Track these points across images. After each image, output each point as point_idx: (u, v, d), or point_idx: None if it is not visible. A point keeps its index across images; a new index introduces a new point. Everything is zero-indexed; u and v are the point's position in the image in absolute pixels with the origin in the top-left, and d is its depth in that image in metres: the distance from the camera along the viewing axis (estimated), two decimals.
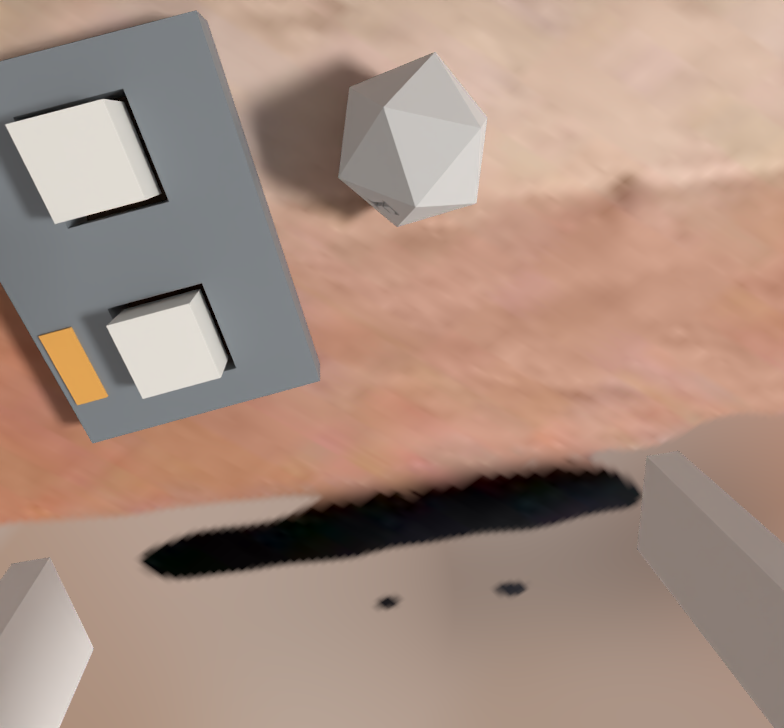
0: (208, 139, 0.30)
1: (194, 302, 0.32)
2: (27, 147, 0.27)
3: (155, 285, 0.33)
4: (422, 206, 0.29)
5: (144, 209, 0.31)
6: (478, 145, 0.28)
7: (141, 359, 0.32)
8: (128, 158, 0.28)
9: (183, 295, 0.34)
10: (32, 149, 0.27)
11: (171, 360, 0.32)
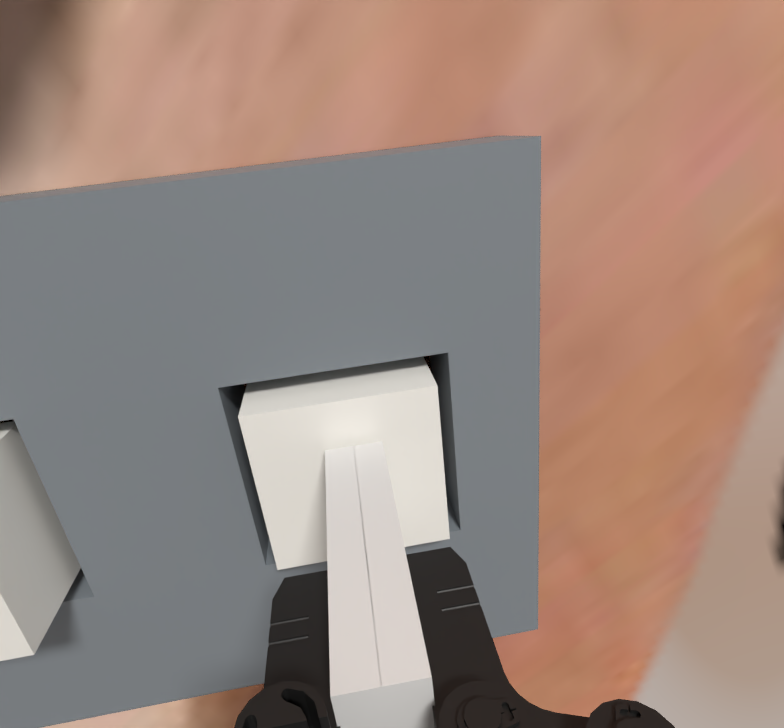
0: None
1: (252, 397, 0.14)
2: None
3: (219, 479, 0.15)
4: None
5: (38, 468, 0.14)
6: None
7: None
8: None
9: None
10: None
11: None
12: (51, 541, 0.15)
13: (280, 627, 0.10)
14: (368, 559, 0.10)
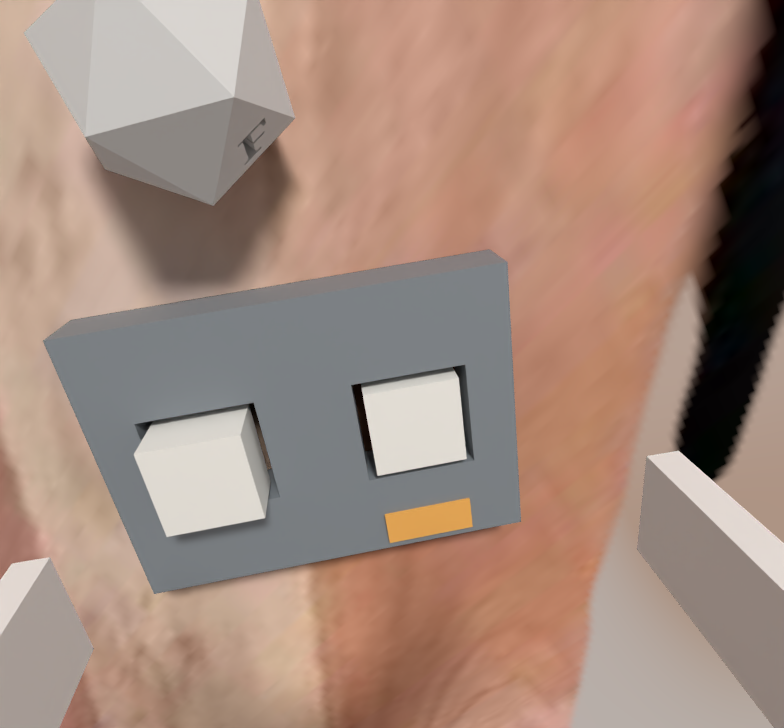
0: (182, 351, 0.26)
1: (366, 386, 0.28)
2: (187, 524, 0.27)
3: (348, 432, 0.28)
4: (235, 83, 0.18)
5: (261, 427, 0.28)
6: None
7: (420, 451, 0.29)
8: (194, 443, 0.25)
9: None
10: (189, 521, 0.27)
11: (427, 424, 0.28)
12: (262, 466, 0.29)
13: None
14: None
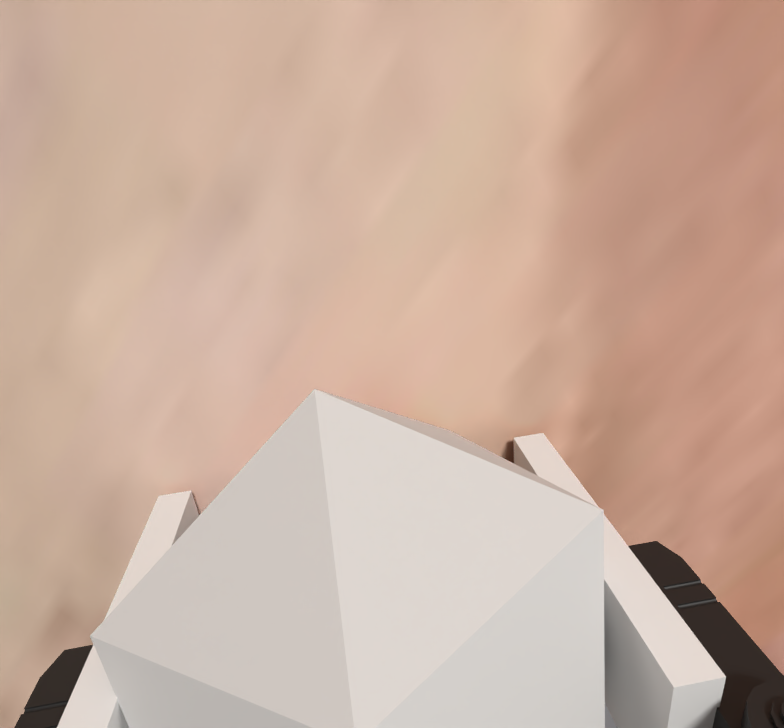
0: None
1: None
2: None
3: None
4: None
5: None
6: (427, 689, 0.06)
7: None
8: None
9: None
10: None
11: None
12: None
13: (32, 714, 0.09)
14: None
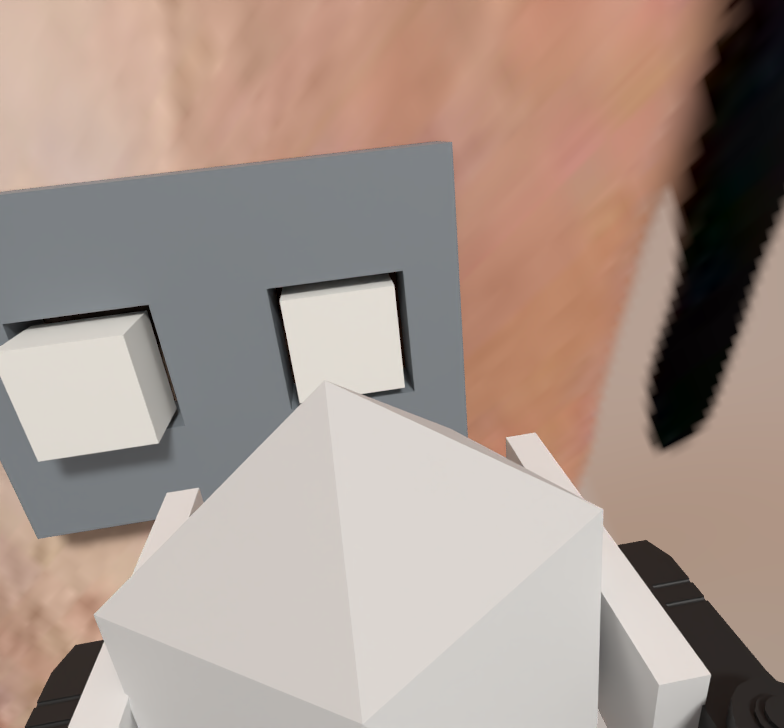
0: (57, 233, 0.21)
1: (286, 294, 0.24)
2: (63, 447, 0.22)
3: (264, 348, 0.24)
4: None
5: (159, 336, 0.23)
6: (431, 674, 0.06)
7: (349, 375, 0.25)
8: (66, 342, 0.21)
9: None
10: (65, 443, 0.22)
11: (357, 342, 0.24)
12: (162, 386, 0.24)
13: (44, 708, 0.09)
14: None
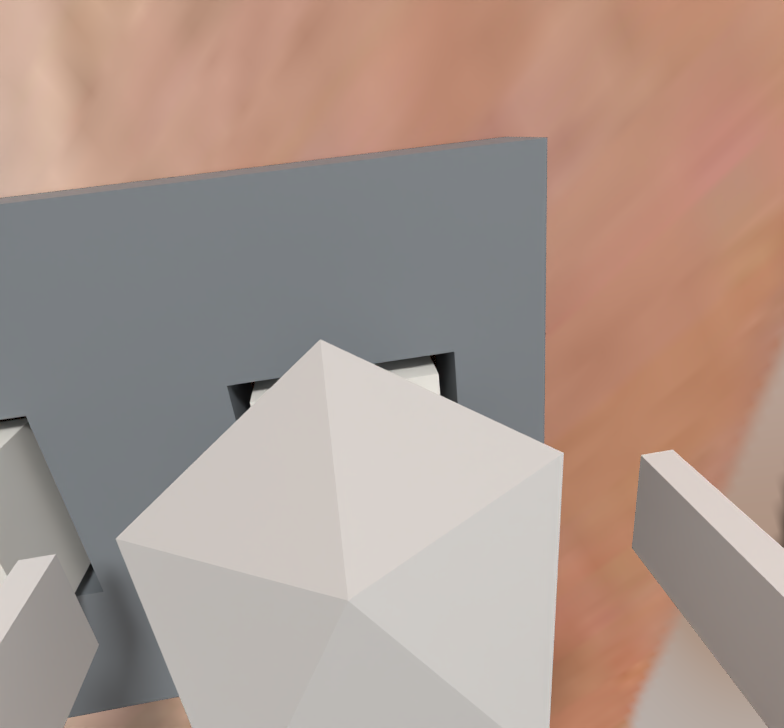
0: None
1: (263, 384, 0.15)
2: None
3: None
4: (547, 726, 0.09)
5: (49, 464, 0.14)
6: (406, 569, 0.07)
7: None
8: None
9: None
10: None
11: None
12: (62, 537, 0.15)
13: None
14: None
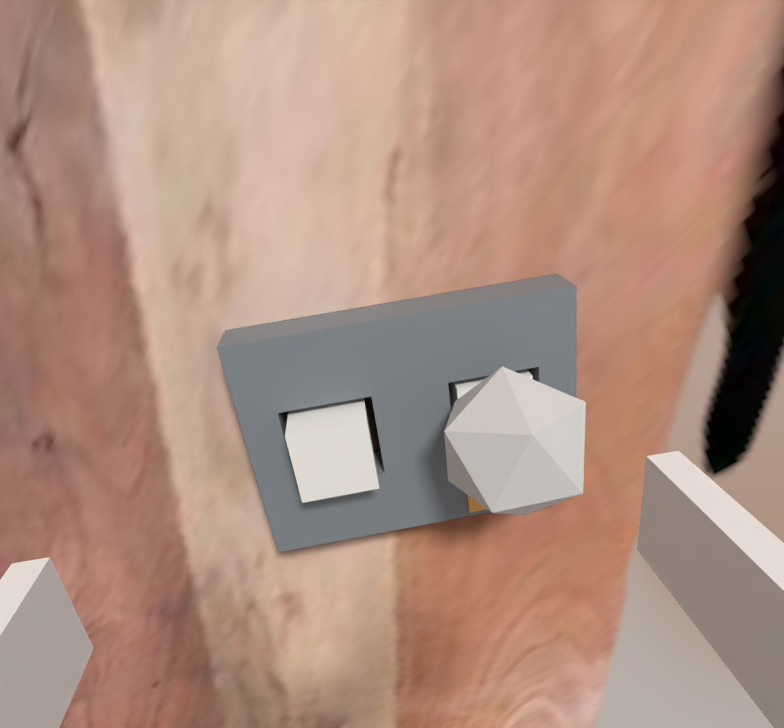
0: (320, 355, 0.33)
1: (457, 382, 0.35)
2: (319, 493, 0.34)
3: (443, 420, 0.35)
4: (582, 483, 0.29)
5: (375, 416, 0.35)
6: (544, 429, 0.28)
7: None
8: (332, 427, 0.32)
9: (450, 385, 0.37)
10: (321, 490, 0.34)
11: None
12: None
13: None
14: None
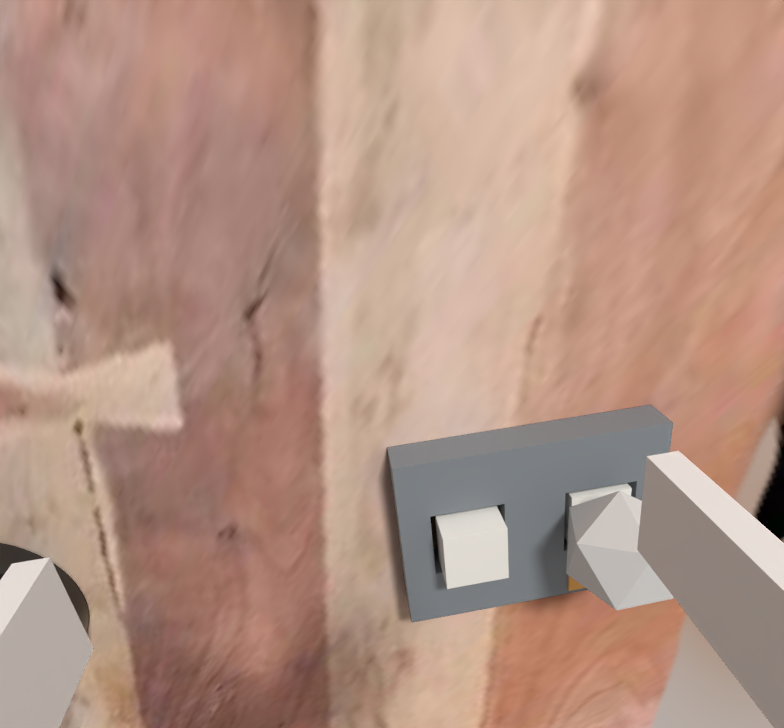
0: (470, 474, 0.41)
1: None
2: (461, 581, 0.42)
3: (557, 521, 0.44)
4: None
5: (505, 518, 0.43)
6: None
7: None
8: (479, 533, 0.40)
9: None
10: (463, 579, 0.42)
11: None
12: None
13: None
14: None
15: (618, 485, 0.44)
